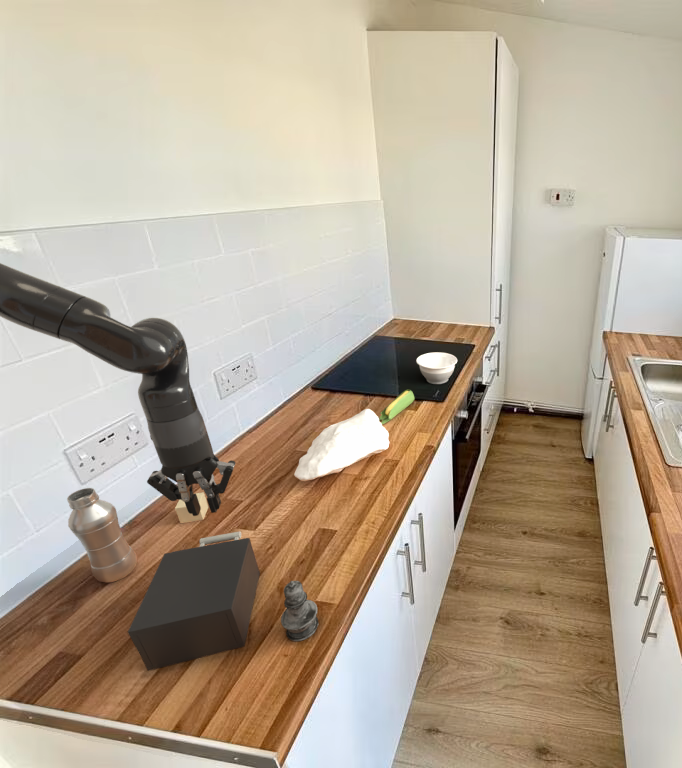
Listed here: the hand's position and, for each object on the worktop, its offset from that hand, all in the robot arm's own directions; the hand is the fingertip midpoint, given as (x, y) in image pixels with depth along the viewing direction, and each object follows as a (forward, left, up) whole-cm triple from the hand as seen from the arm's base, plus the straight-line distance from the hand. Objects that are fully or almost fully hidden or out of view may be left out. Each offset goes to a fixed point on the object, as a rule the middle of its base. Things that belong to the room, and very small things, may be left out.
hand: (206, 511), depth 82 cm
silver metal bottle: (-19, +4, -15) cm, 25 cm away
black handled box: (0, -12, -15) cm, 19 cm away
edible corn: (+40, +56, -15) cm, 71 cm away
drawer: (0, -7, -14) cm, 16 cm away
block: (-10, +18, -15) cm, 26 cm away
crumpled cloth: (+24, +33, -15) cm, 44 cm away
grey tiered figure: (+16, -19, -15) cm, 29 cm away
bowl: (+58, +79, -15) cm, 99 cm away
